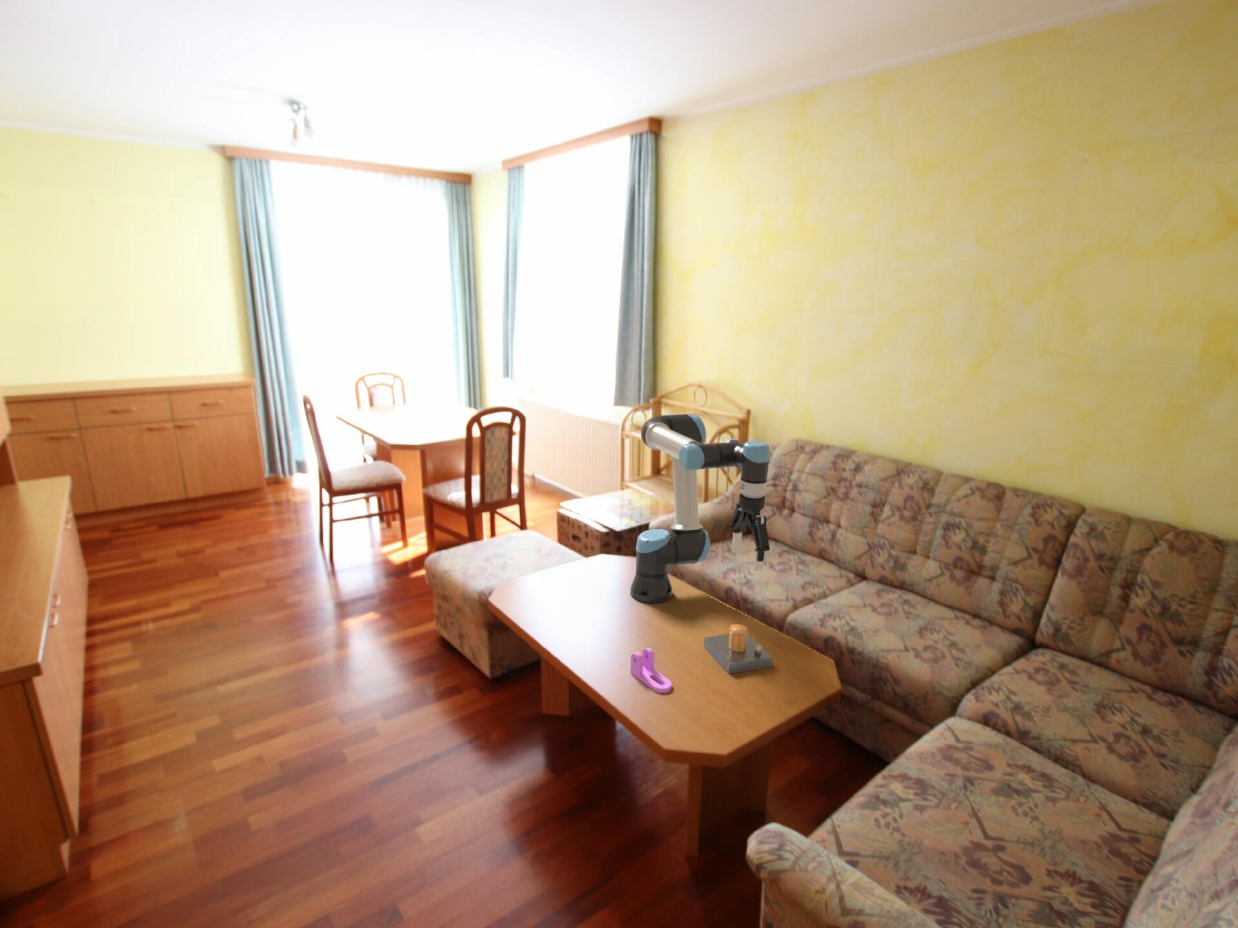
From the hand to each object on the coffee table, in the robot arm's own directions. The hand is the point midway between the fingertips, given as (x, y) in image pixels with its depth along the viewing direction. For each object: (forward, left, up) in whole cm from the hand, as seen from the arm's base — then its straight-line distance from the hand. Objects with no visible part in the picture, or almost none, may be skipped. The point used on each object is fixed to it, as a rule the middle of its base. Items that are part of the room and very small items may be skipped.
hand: (746, 561), depth 196 cm
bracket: (+12, -34, -28) cm, 46 cm away
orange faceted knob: (+7, -5, -24) cm, 26 cm away
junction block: (+7, -5, -27) cm, 28 cm away
